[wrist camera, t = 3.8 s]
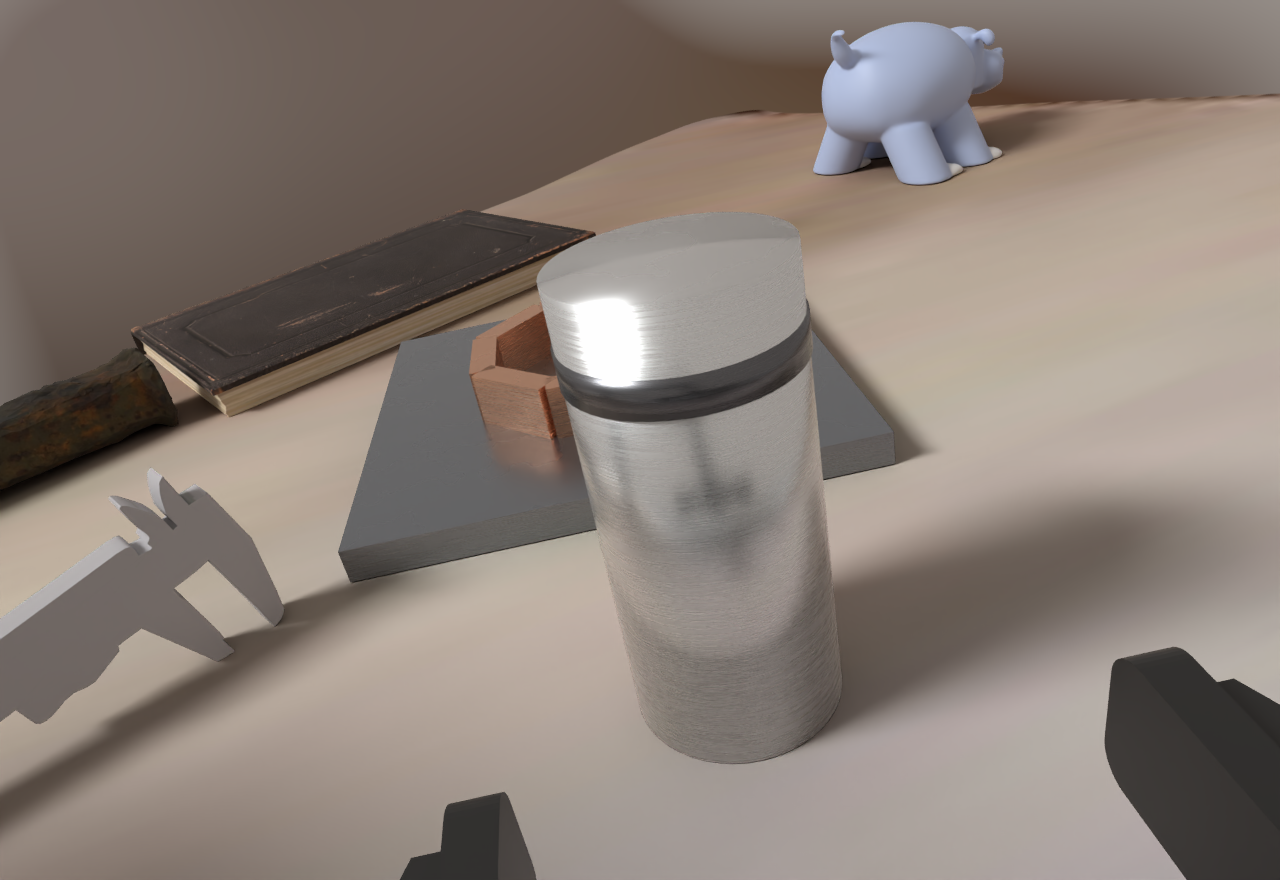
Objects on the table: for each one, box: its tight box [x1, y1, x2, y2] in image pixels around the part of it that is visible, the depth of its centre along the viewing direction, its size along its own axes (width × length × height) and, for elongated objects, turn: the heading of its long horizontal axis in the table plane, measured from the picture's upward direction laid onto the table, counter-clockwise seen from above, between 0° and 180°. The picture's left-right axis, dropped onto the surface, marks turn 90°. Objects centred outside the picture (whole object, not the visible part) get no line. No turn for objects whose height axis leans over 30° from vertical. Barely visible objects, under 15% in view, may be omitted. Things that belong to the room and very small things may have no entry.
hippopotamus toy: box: [813, 22, 1004, 185], centre depth 59 cm, size 11×15×10 cm
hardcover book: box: [131, 209, 596, 417], centre depth 54 cm, size 16×23×2 cm
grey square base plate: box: [338, 302, 895, 582], centre depth 37 cm, size 18×18×3 cm
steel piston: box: [536, 212, 842, 764], centre depth 20 cm, size 5×5×11 cm
